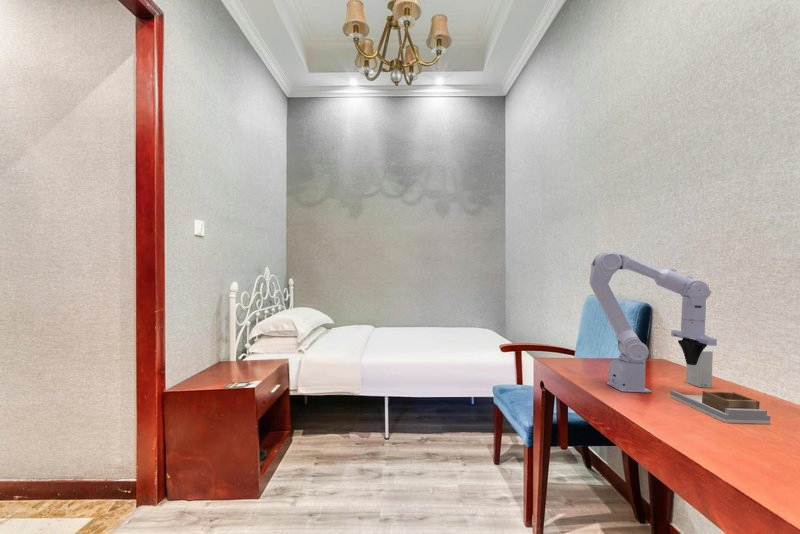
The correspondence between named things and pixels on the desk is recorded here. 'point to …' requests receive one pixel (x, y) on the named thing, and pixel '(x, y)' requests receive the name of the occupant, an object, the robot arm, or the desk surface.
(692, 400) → the bay
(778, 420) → the desk surface
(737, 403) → the crate
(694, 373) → the skincare box
